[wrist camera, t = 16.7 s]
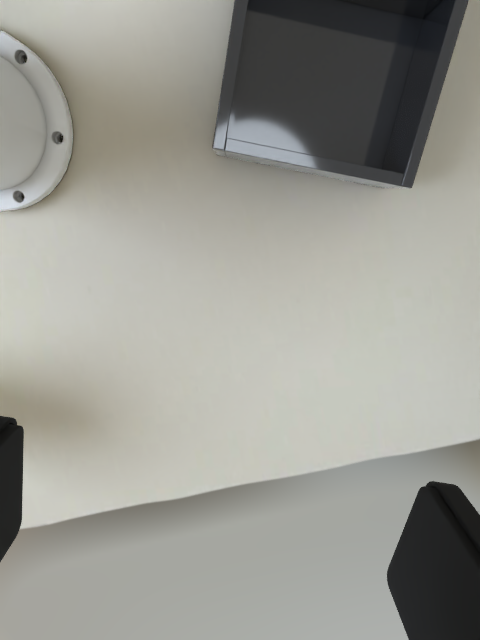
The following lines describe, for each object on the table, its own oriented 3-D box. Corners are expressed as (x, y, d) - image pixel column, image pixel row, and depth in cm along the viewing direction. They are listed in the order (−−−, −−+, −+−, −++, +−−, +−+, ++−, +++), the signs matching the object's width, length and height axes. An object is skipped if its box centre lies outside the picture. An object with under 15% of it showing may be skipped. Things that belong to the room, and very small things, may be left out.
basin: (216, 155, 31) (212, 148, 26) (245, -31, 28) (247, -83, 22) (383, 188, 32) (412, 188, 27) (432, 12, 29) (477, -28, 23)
